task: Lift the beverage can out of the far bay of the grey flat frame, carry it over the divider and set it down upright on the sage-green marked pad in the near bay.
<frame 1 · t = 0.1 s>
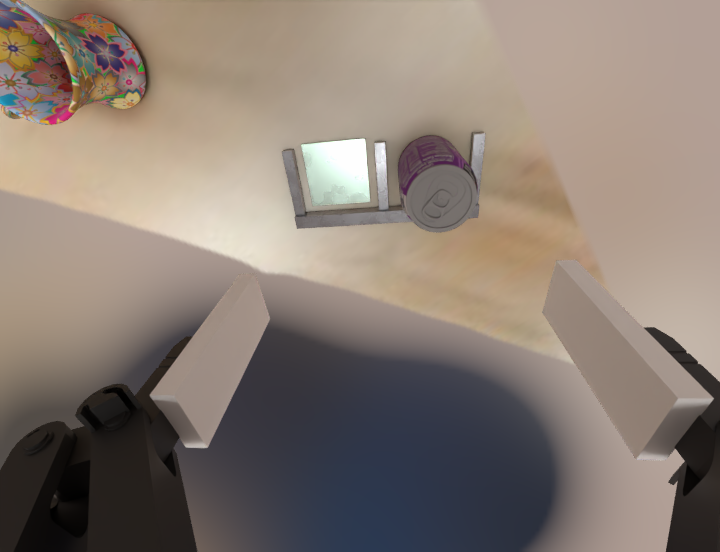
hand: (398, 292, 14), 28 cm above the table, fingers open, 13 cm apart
grey flat frame: (382, 178, 39), on the table
beverage can: (427, 165, 38), on the table
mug: (106, 73, 35), on the table
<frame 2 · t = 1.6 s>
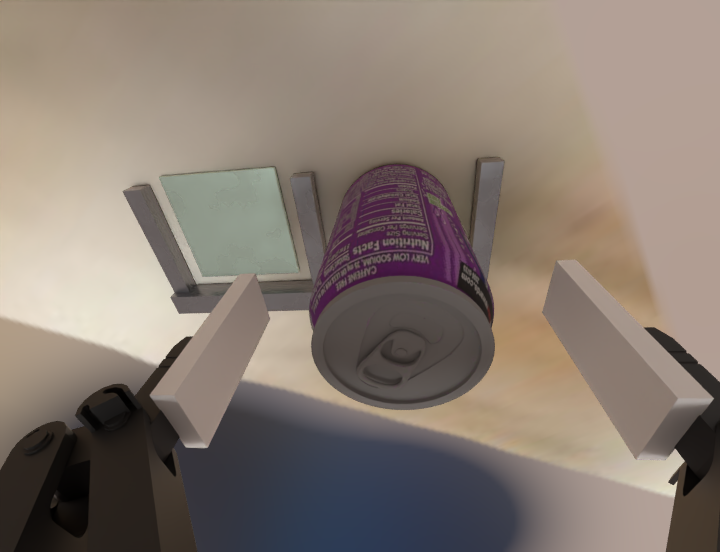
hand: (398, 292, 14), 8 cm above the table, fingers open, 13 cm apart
grey flat frame: (315, 235, 22), on the table
beverage can: (394, 215, 21), on the table
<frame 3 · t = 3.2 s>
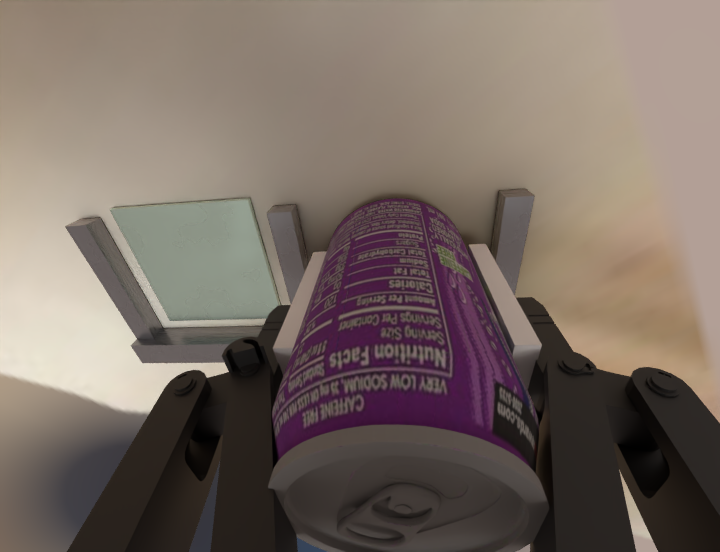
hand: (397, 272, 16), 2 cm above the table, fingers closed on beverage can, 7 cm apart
grey flat frame: (301, 276, 18), on the table
beverage can: (394, 255, 17), on the table, touching gripper
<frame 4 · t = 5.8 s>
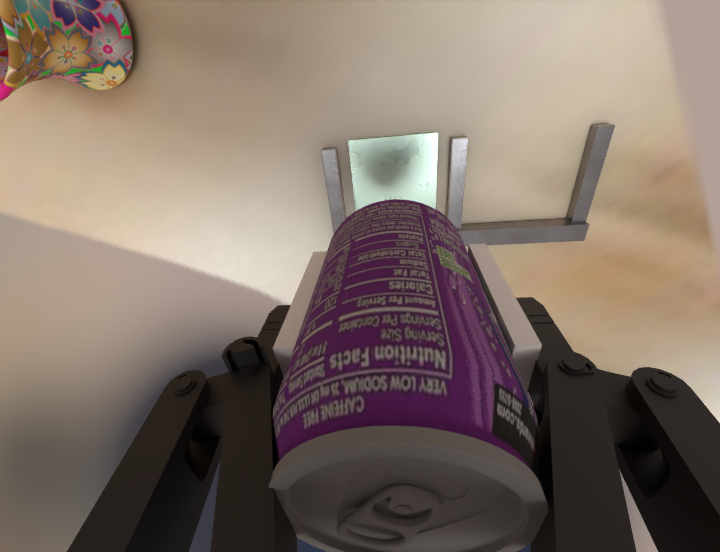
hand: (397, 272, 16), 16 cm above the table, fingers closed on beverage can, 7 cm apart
grey flat frame: (454, 187, 29), on the table
beverage can: (394, 256, 17), point 14 cm above the table, touching gripper
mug: (78, 39, 25), on the table
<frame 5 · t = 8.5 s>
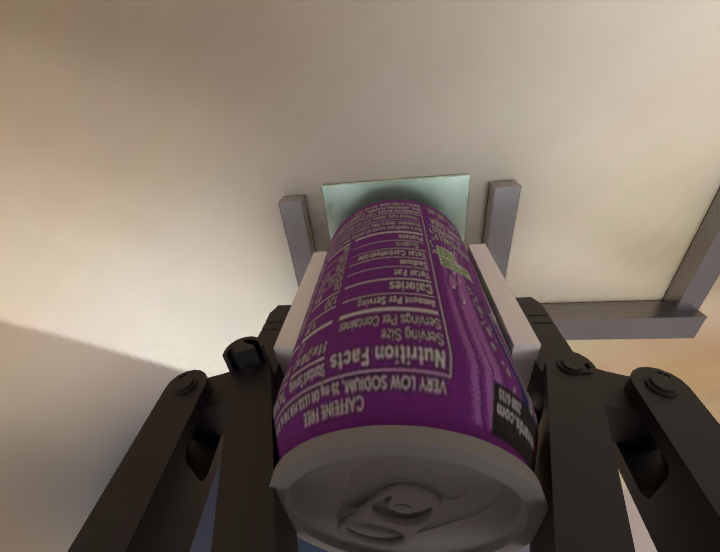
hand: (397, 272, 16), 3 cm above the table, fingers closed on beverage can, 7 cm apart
grey flat frame: (491, 254, 18), on the table
beverage can: (394, 256, 17), point 1 cm above the table, touching gripper
when the fingers open (3 cm above the table, at t = 8.7 s): beverage can drops 1 cm, resting on grey flat frame.
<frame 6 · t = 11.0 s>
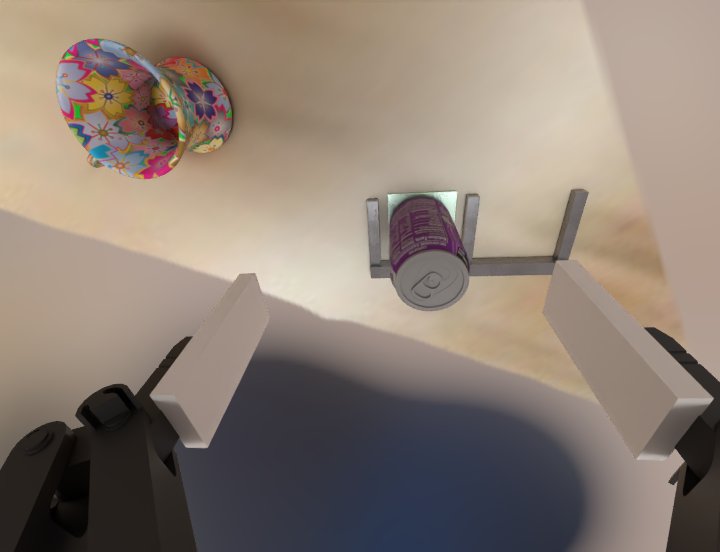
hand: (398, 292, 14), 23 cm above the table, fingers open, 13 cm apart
grey flat frame: (467, 230, 37), on the table
beverage can: (419, 224, 37), resting on grey flat frame
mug: (187, 115, 33), on the table
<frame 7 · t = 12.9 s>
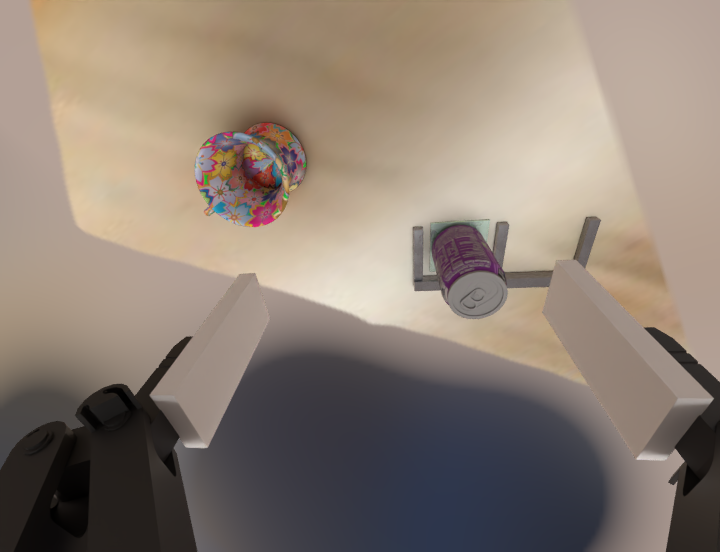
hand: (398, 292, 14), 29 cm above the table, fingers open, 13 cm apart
grey flat frame: (497, 250, 44), on the table
beverage can: (456, 246, 44), resting on grey flat frame
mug: (267, 164, 41), on the table
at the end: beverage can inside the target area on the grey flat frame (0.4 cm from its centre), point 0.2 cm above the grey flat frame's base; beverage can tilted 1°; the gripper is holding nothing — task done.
